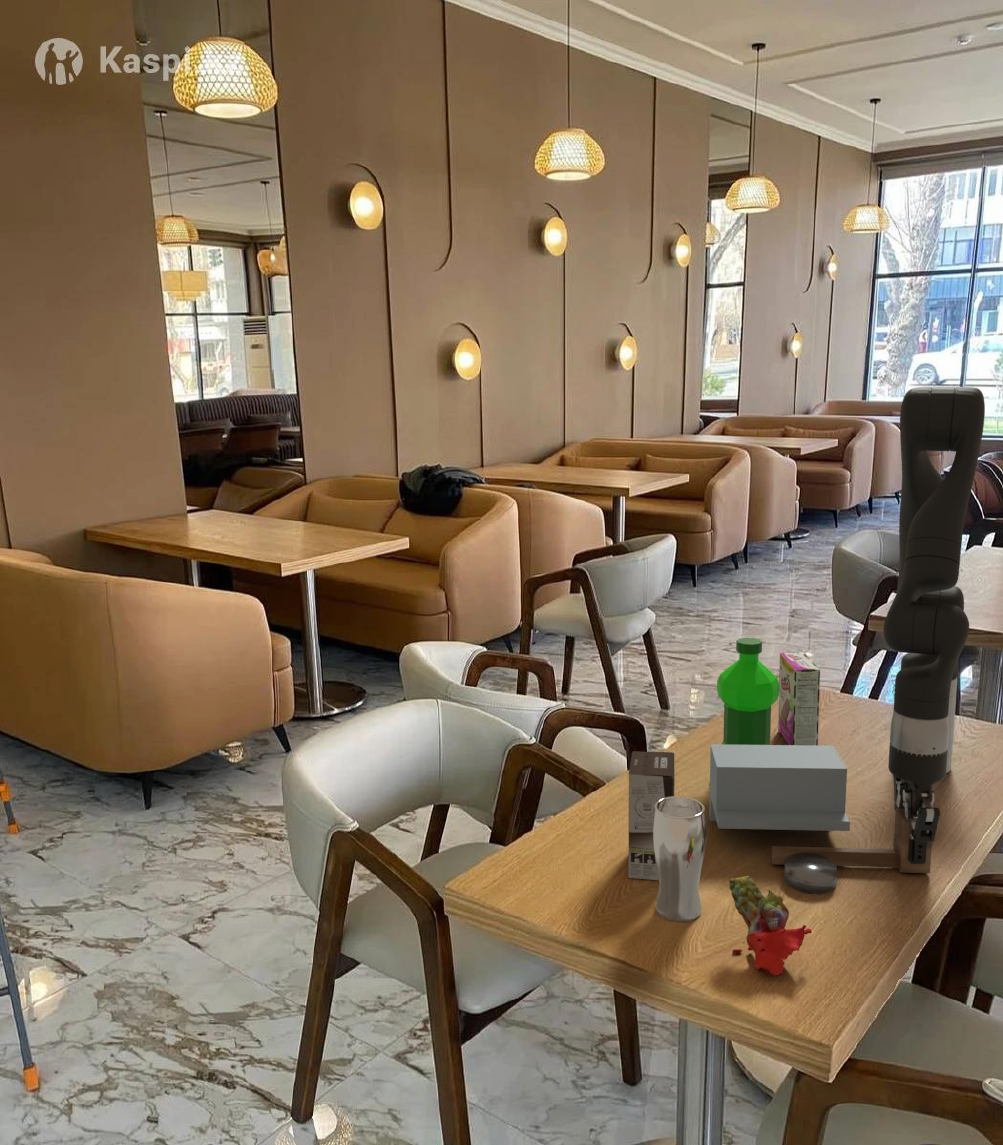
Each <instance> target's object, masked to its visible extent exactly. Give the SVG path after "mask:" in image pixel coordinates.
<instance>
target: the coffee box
mask: <svg viewBox="0 0 1003 1145" xmlns="http://www.w3.org/2000/svg"><path fill="white" fill-rule="evenodd" d="M675 780H676V779H675V753H674V752H672V751H671V752H670V751H636V750H635V751H634V750H633V751H632V752H631V756H630V762H629V767H628V879H629V878H630V879H637V880H638V879H640V880H650V881H659V878H658V871H657V866H656V861H655V855H654V848H653V820H654V810H655V807H654V806H655V803H656V802H657V801H658V800H660V799H662V798H665V797H671V796H675V782H676V781H675Z"/></svg>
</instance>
